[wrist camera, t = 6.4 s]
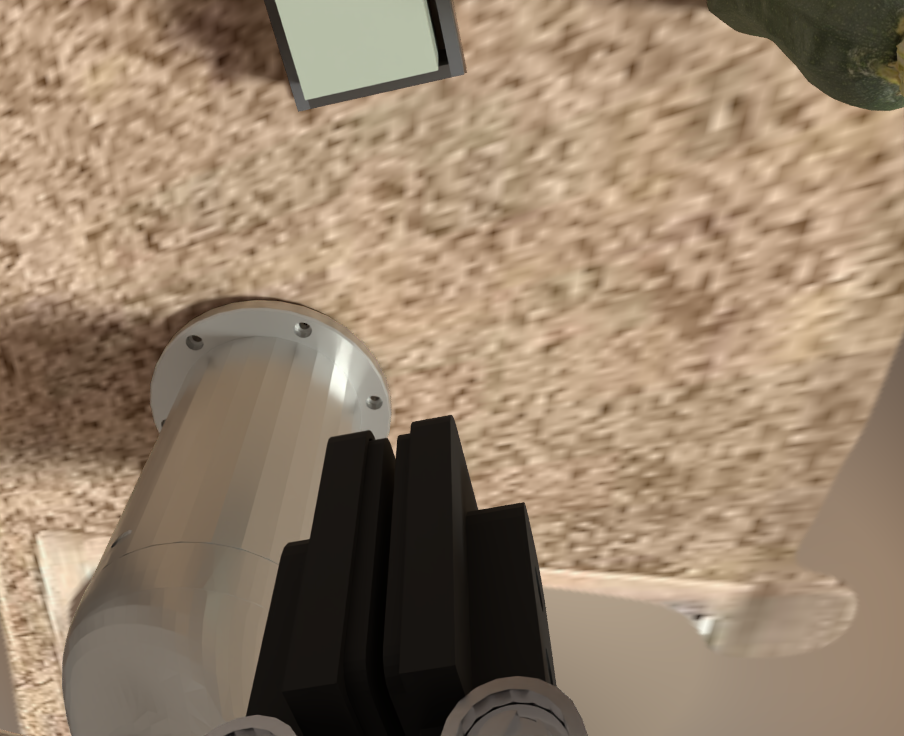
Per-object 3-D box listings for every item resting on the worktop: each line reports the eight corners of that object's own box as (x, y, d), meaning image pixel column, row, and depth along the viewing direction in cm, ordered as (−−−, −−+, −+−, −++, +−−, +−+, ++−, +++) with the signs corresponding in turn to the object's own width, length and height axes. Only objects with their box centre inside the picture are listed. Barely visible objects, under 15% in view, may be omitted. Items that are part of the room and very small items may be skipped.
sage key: (438, 47, 34) (438, 70, 31) (318, 74, 35) (305, 100, 31) (408, -92, 31) (405, -83, 28) (279, -60, 32) (260, -48, 29)
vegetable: (657, -33, 35) (868, 92, 18) (740, -127, 33) (1061, -88, 16) (728, 40, 36) (984, 221, 19) (811, -46, 34) (1172, 69, 17)
